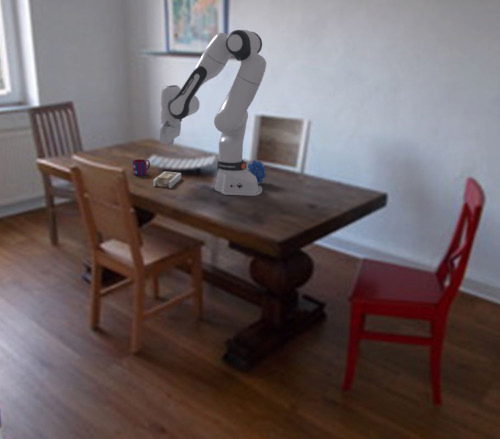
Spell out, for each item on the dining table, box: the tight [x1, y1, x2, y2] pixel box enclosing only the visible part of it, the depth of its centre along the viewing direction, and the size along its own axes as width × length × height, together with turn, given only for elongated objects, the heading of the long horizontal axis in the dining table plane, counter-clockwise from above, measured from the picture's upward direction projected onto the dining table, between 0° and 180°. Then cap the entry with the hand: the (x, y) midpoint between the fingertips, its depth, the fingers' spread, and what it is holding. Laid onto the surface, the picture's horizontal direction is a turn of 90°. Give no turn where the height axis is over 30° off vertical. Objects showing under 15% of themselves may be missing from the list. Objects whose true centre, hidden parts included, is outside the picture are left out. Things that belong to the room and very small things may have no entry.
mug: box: [132, 158, 151, 177], centre depth 280 cm, size 7×10×7 cm
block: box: [156, 172, 173, 188], centre depth 264 cm, size 5×7×4 cm
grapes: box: [247, 160, 267, 183], centre depth 269 cm, size 12×7×12 cm, turn 127°
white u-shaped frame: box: [152, 171, 182, 189], centre depth 267 cm, size 9×16×3 cm, turn 169°
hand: (170, 148), depth 267 cm, fingers closed
